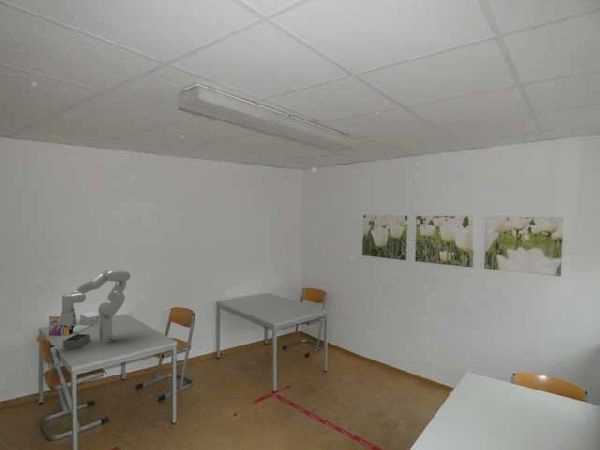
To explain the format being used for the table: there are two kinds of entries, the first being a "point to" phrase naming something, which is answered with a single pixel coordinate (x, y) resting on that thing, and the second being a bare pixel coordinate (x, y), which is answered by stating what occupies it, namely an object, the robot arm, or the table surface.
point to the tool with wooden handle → (75, 329)
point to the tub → (76, 344)
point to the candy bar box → (55, 325)
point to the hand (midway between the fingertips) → (68, 333)
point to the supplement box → (89, 318)
